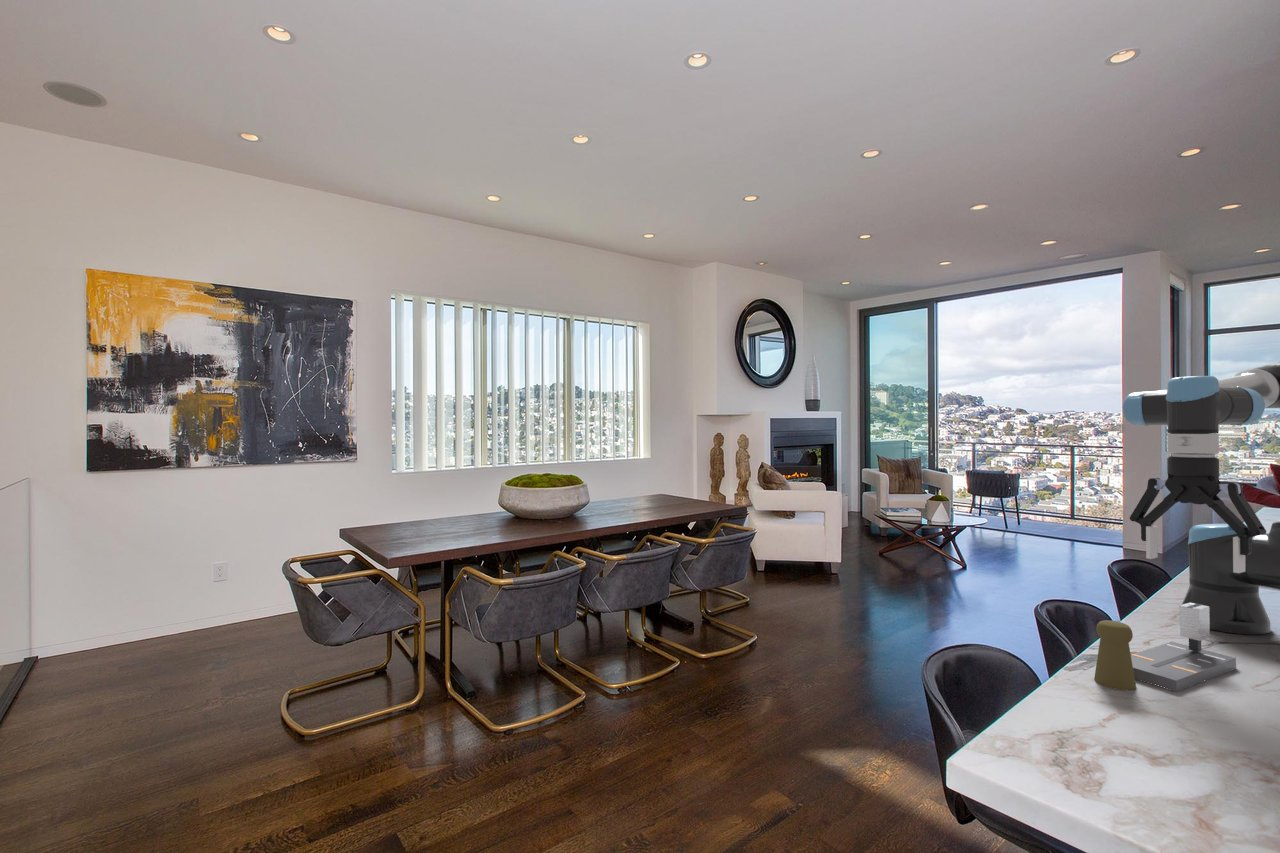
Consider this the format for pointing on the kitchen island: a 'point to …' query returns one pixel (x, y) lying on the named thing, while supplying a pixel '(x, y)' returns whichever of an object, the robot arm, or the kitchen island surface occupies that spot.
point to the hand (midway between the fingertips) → (1193, 564)
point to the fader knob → (1194, 624)
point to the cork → (1114, 656)
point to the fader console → (1179, 665)
